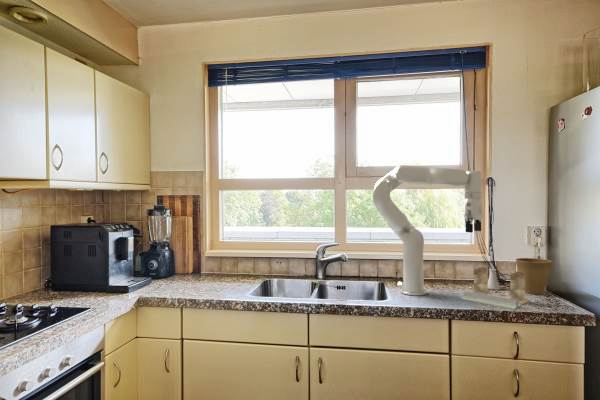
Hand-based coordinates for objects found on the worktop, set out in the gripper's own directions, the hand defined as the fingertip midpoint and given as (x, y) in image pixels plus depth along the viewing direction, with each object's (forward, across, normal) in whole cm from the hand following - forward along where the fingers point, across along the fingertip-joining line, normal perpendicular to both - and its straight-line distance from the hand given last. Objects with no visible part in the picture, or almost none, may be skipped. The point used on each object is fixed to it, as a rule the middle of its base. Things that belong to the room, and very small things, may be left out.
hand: (473, 231), depth 180 cm
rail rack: (+30, +1, -11) cm, 32 cm away
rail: (+30, -10, -11) cm, 33 cm away
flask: (+31, +18, -2) cm, 36 cm away
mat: (+30, -9, -11) cm, 34 cm away
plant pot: (+31, +23, -19) cm, 43 cm away
